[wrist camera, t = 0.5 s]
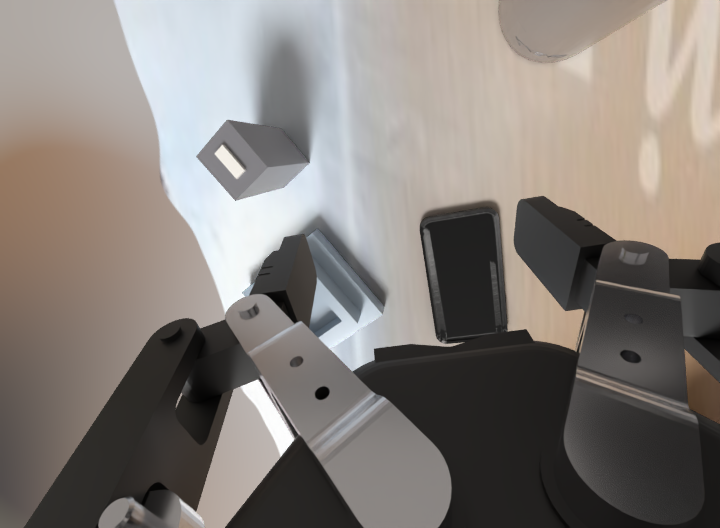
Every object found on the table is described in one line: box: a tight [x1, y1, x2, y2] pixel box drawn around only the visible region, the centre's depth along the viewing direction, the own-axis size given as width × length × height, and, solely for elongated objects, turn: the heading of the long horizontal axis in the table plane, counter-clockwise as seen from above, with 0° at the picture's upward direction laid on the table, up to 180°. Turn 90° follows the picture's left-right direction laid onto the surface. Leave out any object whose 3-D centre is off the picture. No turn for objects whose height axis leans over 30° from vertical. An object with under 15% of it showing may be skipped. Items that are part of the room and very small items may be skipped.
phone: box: [420, 207, 508, 344], centre depth 35 cm, size 8×1×15 cm
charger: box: [196, 120, 309, 201], centre depth 29 cm, size 4×4×10 cm
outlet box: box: [242, 228, 384, 349], centre depth 36 cm, size 12×12×4 cm
